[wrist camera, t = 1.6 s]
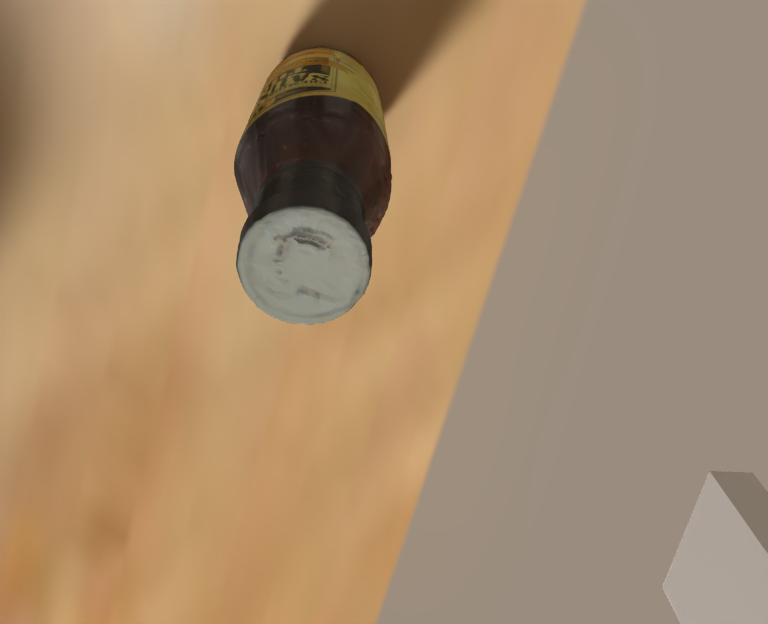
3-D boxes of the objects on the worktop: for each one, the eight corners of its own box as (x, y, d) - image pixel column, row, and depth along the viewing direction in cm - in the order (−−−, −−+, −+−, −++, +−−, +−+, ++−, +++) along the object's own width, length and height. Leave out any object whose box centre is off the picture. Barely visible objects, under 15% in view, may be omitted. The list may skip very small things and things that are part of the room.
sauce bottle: (319, 15, 36) (313, 97, 19) (403, 104, 38) (468, 251, 21) (234, 108, 38) (156, 262, 20) (319, 187, 40) (315, 386, 23)
